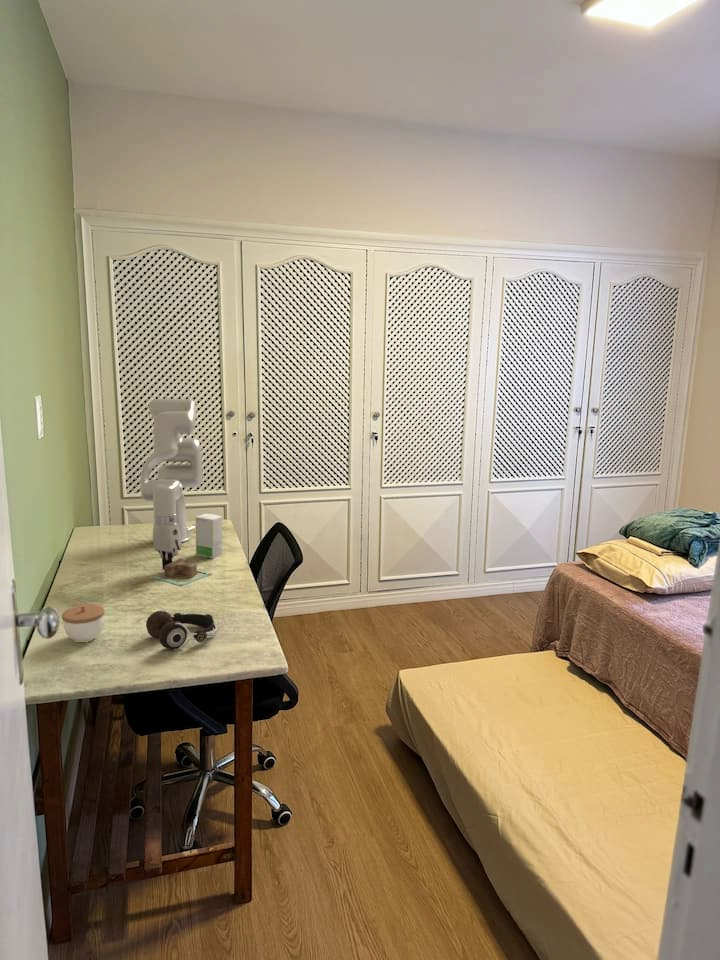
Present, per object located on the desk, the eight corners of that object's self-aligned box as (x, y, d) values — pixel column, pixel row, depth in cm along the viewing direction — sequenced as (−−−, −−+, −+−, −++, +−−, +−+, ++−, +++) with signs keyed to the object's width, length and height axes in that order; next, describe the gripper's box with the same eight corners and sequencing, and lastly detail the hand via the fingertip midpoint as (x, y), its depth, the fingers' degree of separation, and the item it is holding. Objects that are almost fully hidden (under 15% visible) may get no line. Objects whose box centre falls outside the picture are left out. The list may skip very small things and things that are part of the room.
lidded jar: (114, 632, 183) (112, 600, 181) (90, 649, 172) (87, 616, 171) (80, 627, 185) (78, 596, 183) (55, 644, 175) (52, 611, 173)
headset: (141, 606, 180) (206, 600, 193) (138, 633, 181) (204, 625, 194) (167, 627, 167) (235, 619, 181) (164, 656, 168) (232, 645, 181)
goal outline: (183, 566, 237) (183, 566, 237) (211, 574, 229) (211, 573, 229) (153, 577, 225) (153, 577, 225) (181, 586, 218) (181, 585, 218)
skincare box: (195, 556, 249) (194, 516, 245) (205, 551, 255) (204, 512, 251) (213, 559, 246) (212, 519, 242) (223, 554, 252) (222, 515, 248)
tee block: (164, 577, 226) (164, 566, 225) (180, 568, 234) (179, 558, 233) (186, 580, 223) (186, 569, 222) (201, 572, 231) (201, 561, 230)
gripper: (188, 520, 226) (190, 570, 230) (159, 513, 234) (161, 562, 238) (171, 525, 220) (173, 576, 224) (142, 518, 228) (145, 567, 232)
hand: (167, 568), depth 231 cm, fingers closed
